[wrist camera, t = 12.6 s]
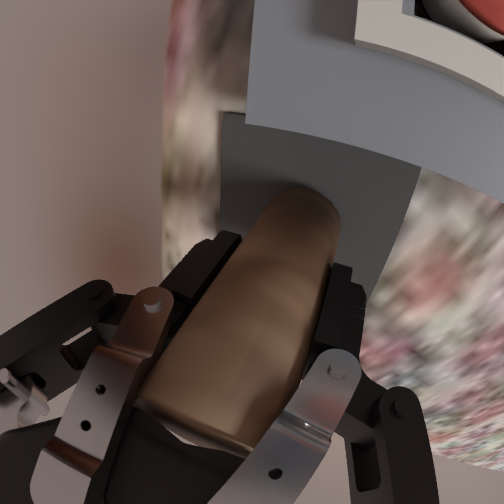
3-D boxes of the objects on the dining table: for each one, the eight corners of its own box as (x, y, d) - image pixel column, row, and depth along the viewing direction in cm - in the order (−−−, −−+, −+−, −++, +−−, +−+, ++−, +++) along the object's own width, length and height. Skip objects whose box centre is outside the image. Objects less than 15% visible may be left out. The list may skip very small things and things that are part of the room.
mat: (421, 156, 10) (424, 159, 10) (364, 301, 16) (363, 307, 15) (227, 111, 12) (222, 113, 12) (223, 258, 18) (220, 263, 17)
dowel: (349, 200, 11) (283, 449, 4) (330, 263, 14) (261, 470, 6) (269, 179, 12) (114, 372, 5) (262, 243, 15) (152, 422, 7)
